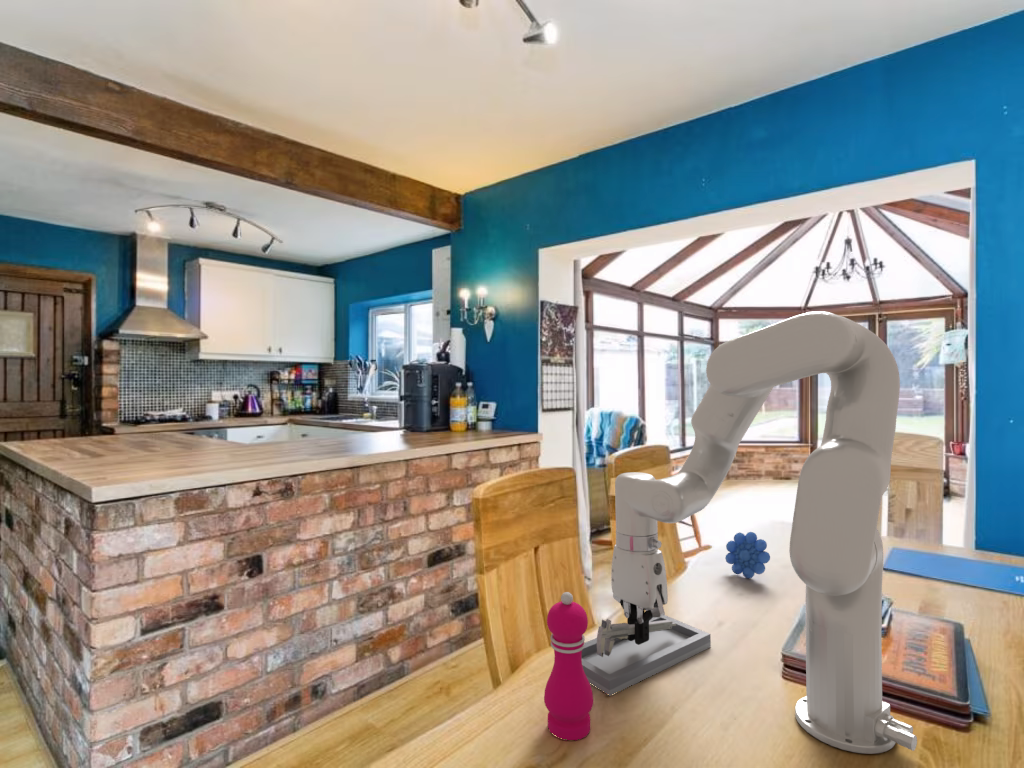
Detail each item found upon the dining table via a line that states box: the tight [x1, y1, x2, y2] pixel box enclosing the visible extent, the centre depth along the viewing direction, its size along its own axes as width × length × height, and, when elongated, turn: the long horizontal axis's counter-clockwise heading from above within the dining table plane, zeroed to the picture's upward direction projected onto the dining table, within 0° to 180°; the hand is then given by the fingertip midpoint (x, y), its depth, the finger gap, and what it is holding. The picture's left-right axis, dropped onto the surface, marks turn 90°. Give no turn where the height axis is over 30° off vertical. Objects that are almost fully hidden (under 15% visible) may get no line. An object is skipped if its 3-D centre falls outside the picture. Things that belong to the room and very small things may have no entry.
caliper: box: [596, 618, 676, 657], centre depth 102 cm, size 20×1×6 cm, turn 126°
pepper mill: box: [543, 591, 594, 741], centre depth 82 cm, size 7×7×20 cm
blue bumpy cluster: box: [725, 531, 771, 579], centre depth 141 cm, size 12×7×12 cm, turn 39°
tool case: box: [581, 614, 712, 697], centre depth 102 cm, size 12×27×2 cm, turn 126°
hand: (638, 639), depth 102 cm, fingers closed on caliper, 1 cm apart
